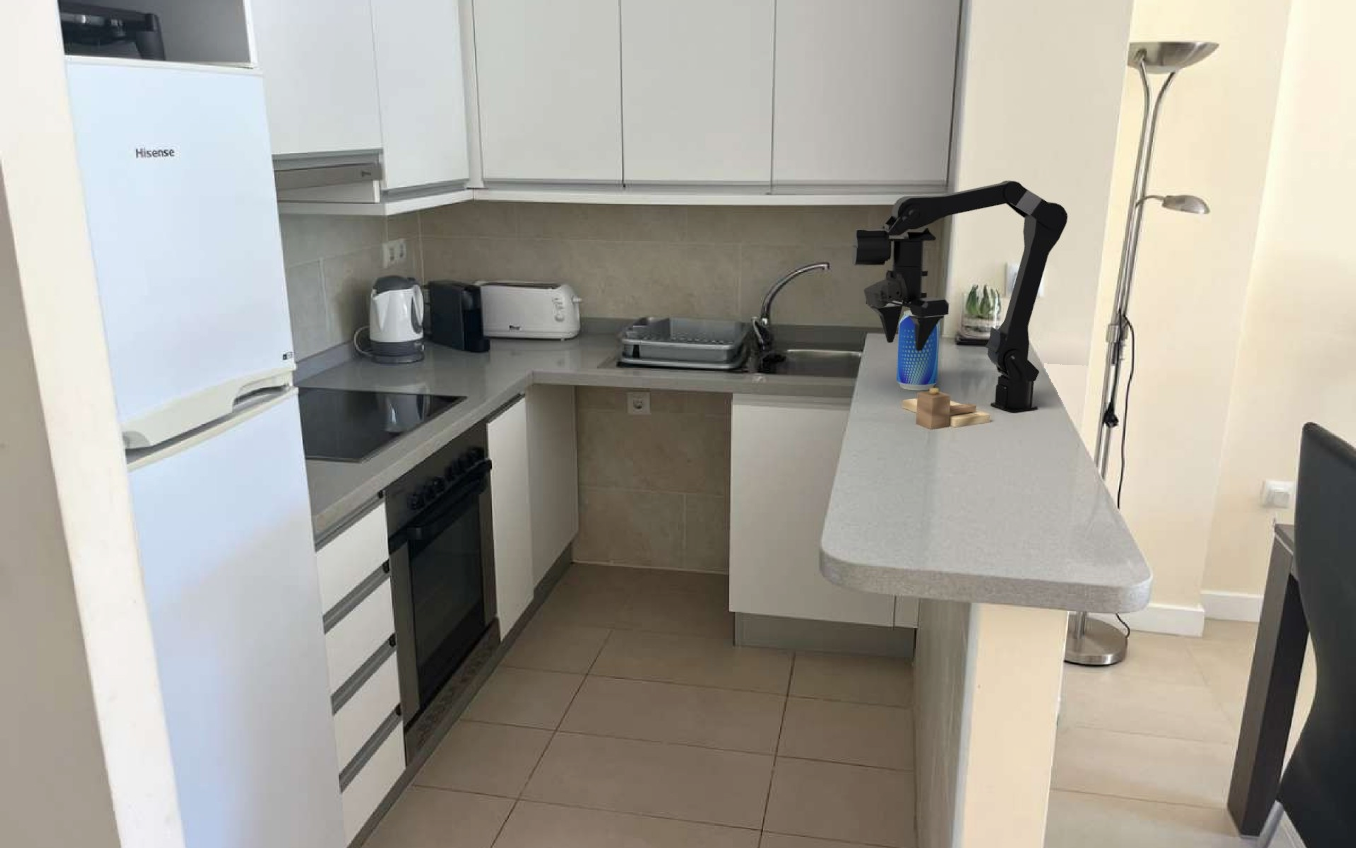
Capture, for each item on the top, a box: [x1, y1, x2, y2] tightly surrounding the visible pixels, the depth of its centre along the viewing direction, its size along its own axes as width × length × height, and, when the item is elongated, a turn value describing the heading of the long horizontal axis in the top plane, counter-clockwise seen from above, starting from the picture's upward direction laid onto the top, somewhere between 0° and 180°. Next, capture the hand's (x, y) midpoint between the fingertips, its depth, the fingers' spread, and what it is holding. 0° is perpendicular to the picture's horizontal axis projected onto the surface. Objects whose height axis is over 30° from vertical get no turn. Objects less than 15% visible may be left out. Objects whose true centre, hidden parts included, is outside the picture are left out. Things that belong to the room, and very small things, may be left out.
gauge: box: [915, 387, 977, 431], centre depth 185 cm, size 11×4×7 cm, turn 114°
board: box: [902, 398, 991, 428], centre depth 191 cm, size 8×16×2 cm, turn 24°
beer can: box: [896, 309, 941, 391], centre depth 211 cm, size 8×8×16 cm
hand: (904, 346), depth 192 cm, fingers open, 9 cm apart
